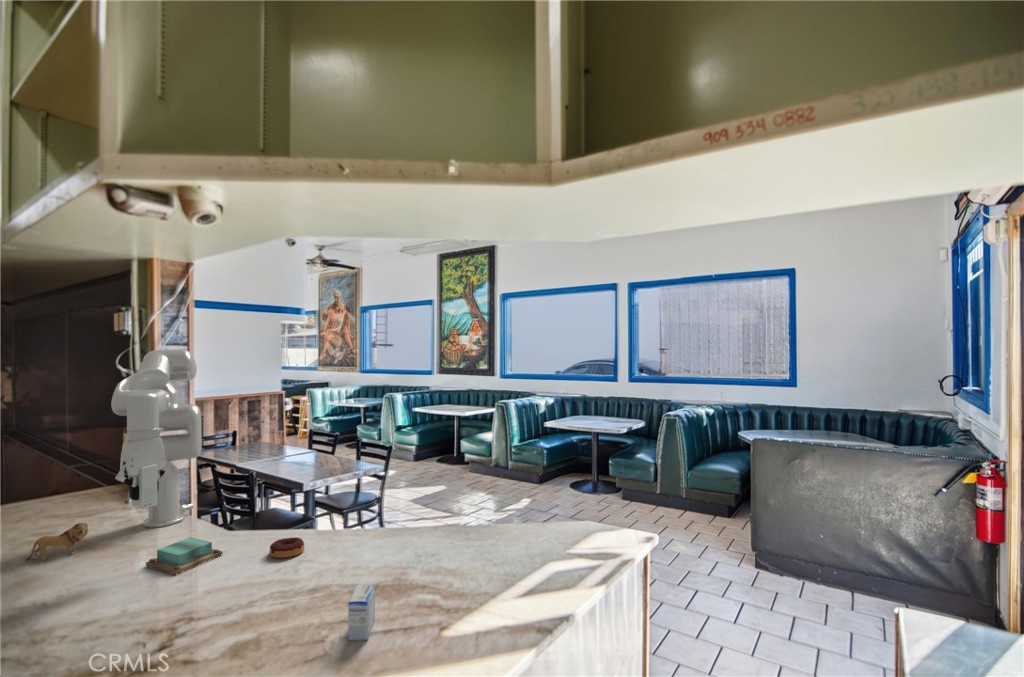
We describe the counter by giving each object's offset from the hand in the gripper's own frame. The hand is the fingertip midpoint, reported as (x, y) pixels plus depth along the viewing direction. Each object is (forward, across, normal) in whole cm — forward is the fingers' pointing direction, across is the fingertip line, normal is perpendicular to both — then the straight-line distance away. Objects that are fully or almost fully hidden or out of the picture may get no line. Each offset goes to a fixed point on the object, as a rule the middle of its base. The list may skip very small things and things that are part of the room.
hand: (144, 496), depth 146 cm
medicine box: (+21, -3, +80) cm, 83 cm away
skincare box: (+3, 0, 0) cm, 3 cm away
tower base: (+21, -8, +6) cm, 23 cm away
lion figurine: (+22, +6, -34) cm, 41 cm away
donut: (+21, -25, +30) cm, 44 cm away
